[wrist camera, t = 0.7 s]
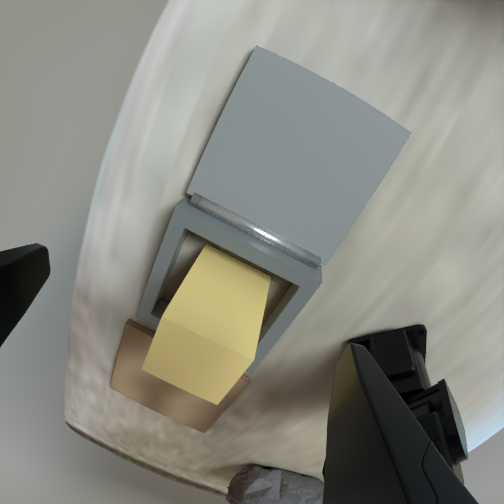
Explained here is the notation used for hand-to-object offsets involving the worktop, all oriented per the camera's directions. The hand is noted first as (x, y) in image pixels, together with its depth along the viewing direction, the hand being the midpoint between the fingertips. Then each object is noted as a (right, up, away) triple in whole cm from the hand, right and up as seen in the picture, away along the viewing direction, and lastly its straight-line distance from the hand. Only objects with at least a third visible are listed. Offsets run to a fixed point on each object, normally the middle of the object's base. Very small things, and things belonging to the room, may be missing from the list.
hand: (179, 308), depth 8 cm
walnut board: (-6, -12, +22) cm, 26 cm away
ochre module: (0, -1, +15) cm, 15 cm away
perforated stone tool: (+7, -29, +29) cm, 42 cm away
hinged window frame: (+2, +3, +13) cm, 13 cm away
